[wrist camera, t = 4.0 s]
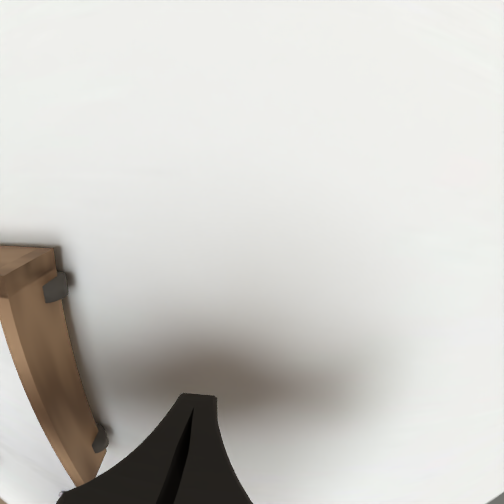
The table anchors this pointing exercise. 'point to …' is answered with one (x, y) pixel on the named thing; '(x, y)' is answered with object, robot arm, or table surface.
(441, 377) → the table surface
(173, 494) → the robot arm
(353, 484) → the table surface
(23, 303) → the wooden u-shaped frame
